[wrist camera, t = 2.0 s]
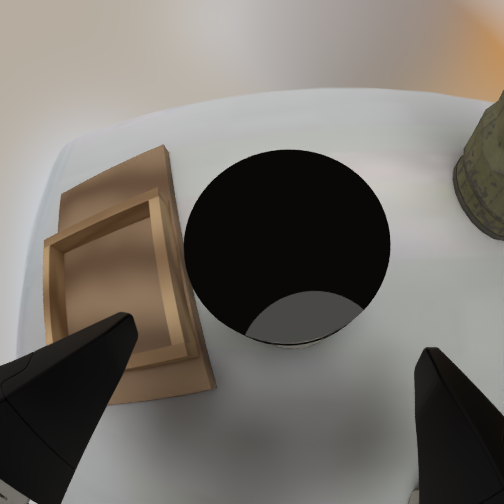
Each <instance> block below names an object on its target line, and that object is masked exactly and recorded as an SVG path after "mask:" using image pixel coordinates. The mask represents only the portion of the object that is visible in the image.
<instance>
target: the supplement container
mask: <svg viewBox="0 0 504 504" xmlns="http://www.w3.org/2000/svg"><path fill="white" fill-rule="evenodd" d="M389 257H390V232H389V226H388V222H387V219H386V215H385V213H384V210H383V208H382V205H381V204H380V202H379V200H378V198H377V196H376V195H375V193H374V192H373V190H372V189H371V188H370V187H369V185H368V184H367V183H366V182H365V181H364V180H363V179H362V178H361V177H360V176H359V175H358V174H356V173H355V172H354V171H353V170H351V169H350V168H348V167H347V166H345V165H344V164H342V163H340V162H338V161H336V160H334V159H332V158H330V157H327V156H324V155H321V154H318V153H314V152H309V151H303V150H275V151H269V152H264V153H260V154H257V155H253V156H251V157H248V158H246V159H243V160H241V161H239V162H237V163H235V164H234V165H232V166H230V167H229V168H227V169H226V170H225V171H223V172H222V173H221V174H219V175H218V176H217V177H216V178H215V179H214V180H213V181H212V182H211V183H210V184H209V185H208V186H207V187H206V188H205V190H204V191H203V192H202V194H201V195H200V197H199V198H198V200H197V201H196V203H195V205H194V207H193V209H192V211H191V214H190V216H189V219H188V222H187V226H186V230H185V236H184V260H185V266H186V270H187V274H188V277H189V280H190V282H191V285H192V287H193V289H194V291H195V293H196V294H197V296H198V298H199V299H200V300H201V302H202V303H203V305H204V306H205V307H206V308H207V309H208V310H209V311H210V313H211V314H213V315H214V316H215V317H216V318H217V319H218V320H219V321H221V322H222V323H224V324H225V325H226V326H228V327H229V328H231V329H233V330H235V331H237V332H239V333H241V334H243V335H245V336H246V337H249V338H251V339H254V340H256V341H260V342H263V343H267V344H272V345H275V346H278V347H282V348H289V349H298V348H304V347H308V346H311V345H314V344H316V343H318V342H320V341H321V340H323V339H325V338H327V337H329V336H331V335H333V334H334V333H336V332H338V331H339V330H341V329H342V328H344V327H345V326H346V325H348V324H349V323H350V322H351V321H352V320H353V319H355V318H356V317H357V316H358V315H359V314H360V313H361V312H362V311H363V310H364V309H365V308H366V307H367V306H368V305H369V304H370V302H371V301H372V299H373V298H374V297H375V295H376V293H377V292H378V290H379V288H380V286H381V284H382V282H383V280H384V277H385V274H386V271H387V268H388V263H389Z"/></svg>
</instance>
